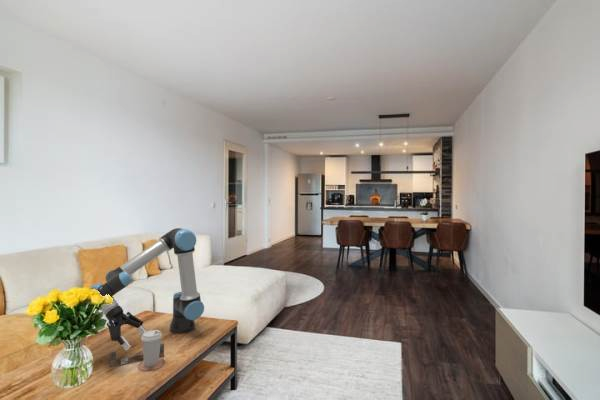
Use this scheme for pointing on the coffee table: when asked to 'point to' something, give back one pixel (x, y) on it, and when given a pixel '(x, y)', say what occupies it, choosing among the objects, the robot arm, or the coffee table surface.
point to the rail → (135, 358)
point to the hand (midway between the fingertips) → (138, 342)
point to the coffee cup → (151, 347)
